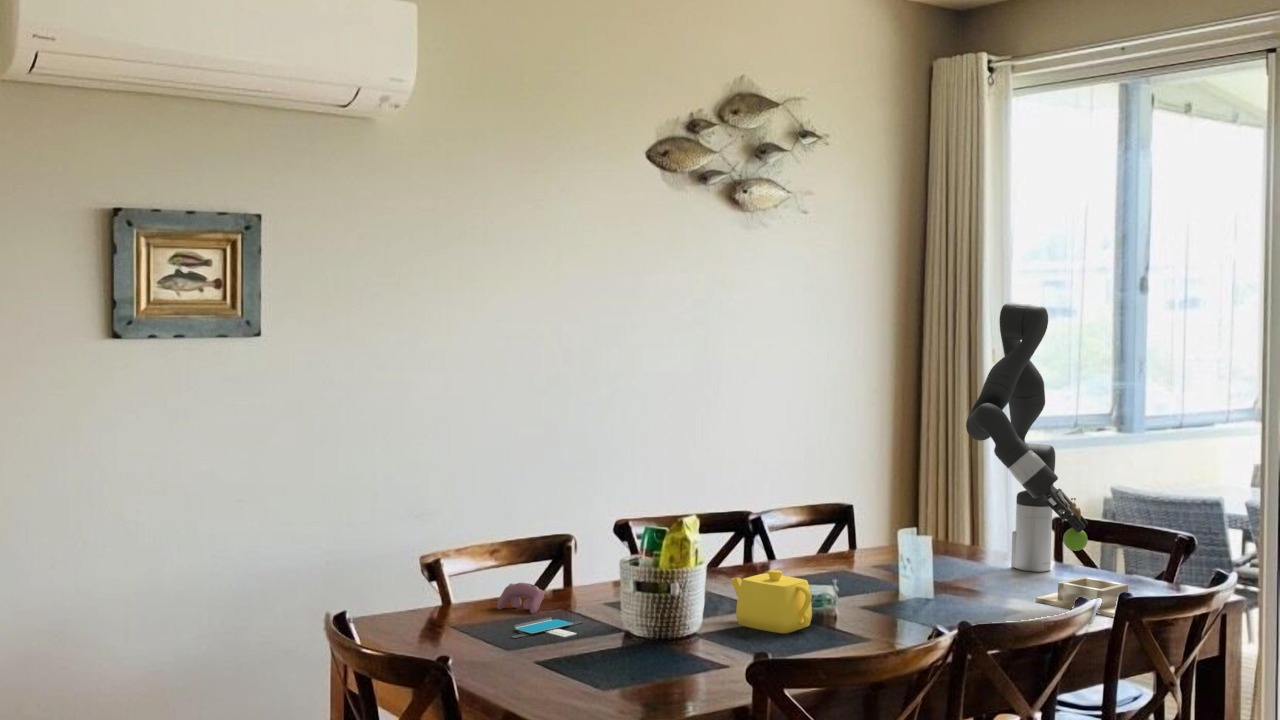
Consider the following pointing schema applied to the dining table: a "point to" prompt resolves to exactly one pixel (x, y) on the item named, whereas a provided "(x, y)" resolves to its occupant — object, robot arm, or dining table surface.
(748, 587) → the teapot
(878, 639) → the dining table surface
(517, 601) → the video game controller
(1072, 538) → the snail figurine
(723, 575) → the dining table surface
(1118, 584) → the wooden box tray
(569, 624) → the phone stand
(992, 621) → the dining table surface
